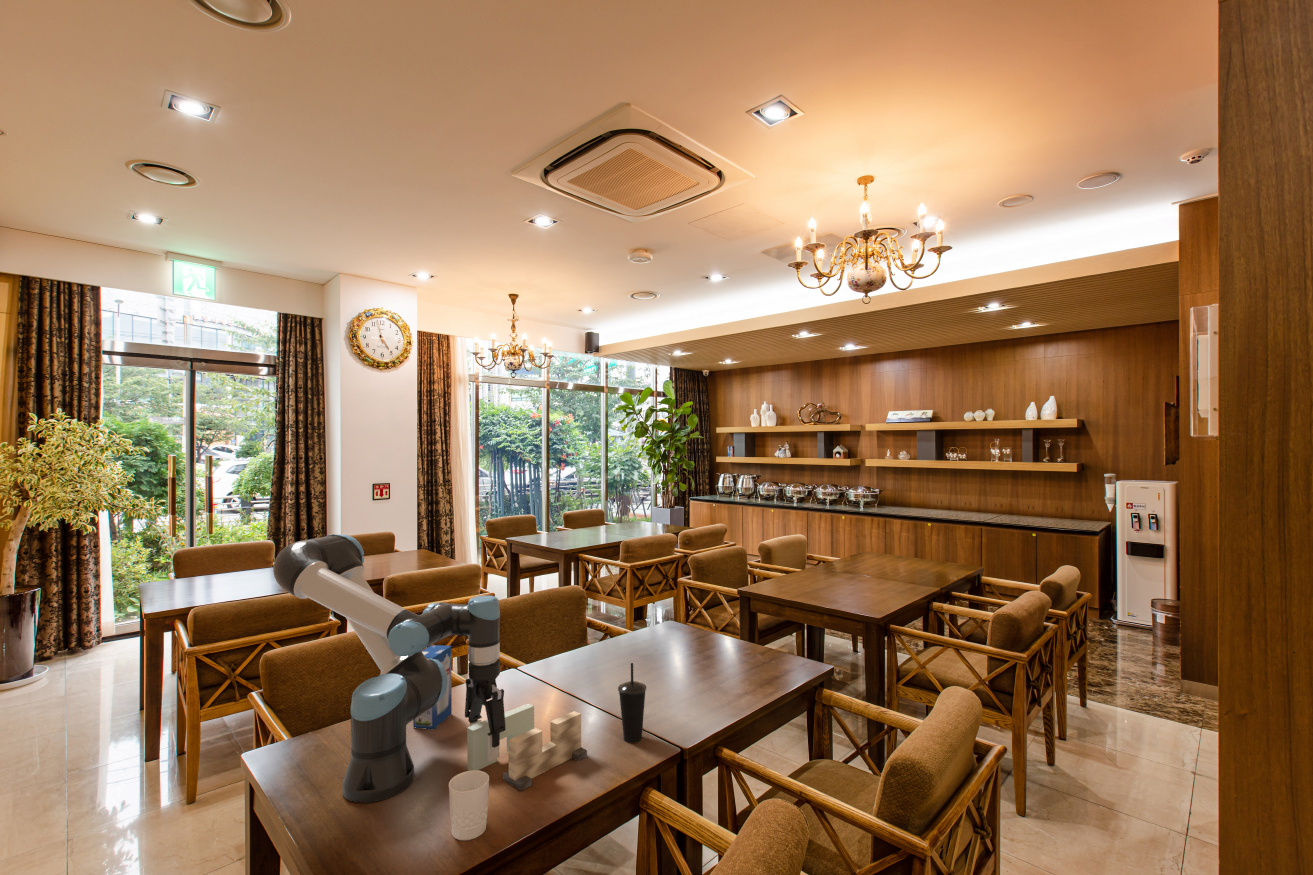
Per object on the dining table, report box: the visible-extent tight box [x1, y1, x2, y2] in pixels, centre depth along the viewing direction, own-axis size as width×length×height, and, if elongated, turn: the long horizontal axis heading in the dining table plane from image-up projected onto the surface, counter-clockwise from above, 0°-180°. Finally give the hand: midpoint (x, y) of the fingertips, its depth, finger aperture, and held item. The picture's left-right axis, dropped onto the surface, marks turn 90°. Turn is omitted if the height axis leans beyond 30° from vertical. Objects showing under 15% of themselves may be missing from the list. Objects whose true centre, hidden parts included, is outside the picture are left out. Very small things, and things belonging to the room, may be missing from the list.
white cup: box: [448, 770, 490, 841], centre depth 120 cm, size 8×8×10 cm
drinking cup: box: [617, 662, 647, 744], centre depth 157 cm, size 8×8×20 cm
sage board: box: [466, 703, 535, 771], centre depth 149 cm, size 18×2×10 cm, turn 138°
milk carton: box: [412, 644, 453, 730], centre depth 169 cm, size 10×6×20 cm, turn 171°
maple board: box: [502, 710, 588, 792], centre depth 143 cm, size 20×7×10 cm, turn 138°
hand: (484, 753), depth 145 cm, fingers open, 7 cm apart
